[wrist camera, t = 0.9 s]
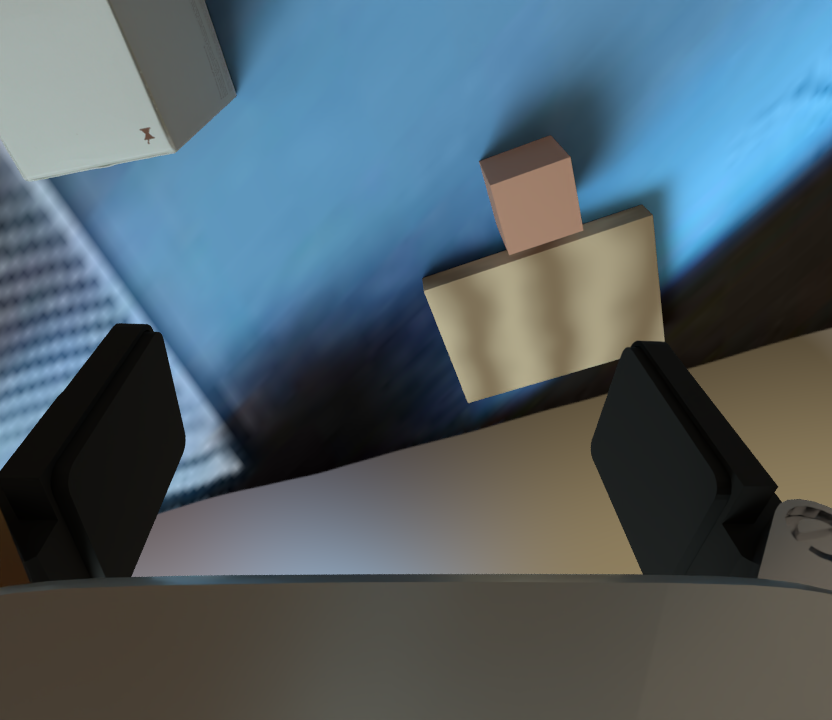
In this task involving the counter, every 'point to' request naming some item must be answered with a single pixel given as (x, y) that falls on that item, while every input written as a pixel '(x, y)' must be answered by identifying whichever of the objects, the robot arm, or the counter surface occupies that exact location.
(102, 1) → the supplement box
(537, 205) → the terracotta cube
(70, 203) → the counter surface
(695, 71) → the counter surface
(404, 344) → the counter surface
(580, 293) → the chopping board
